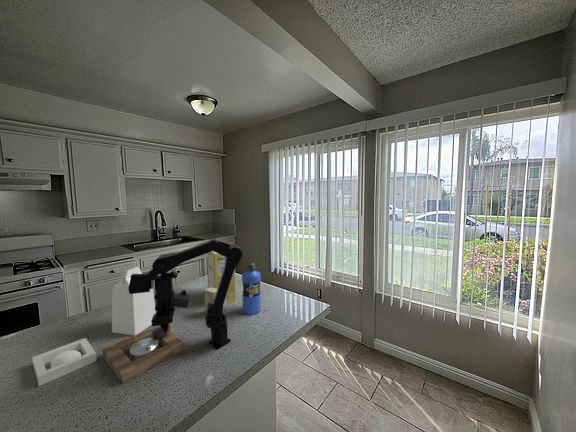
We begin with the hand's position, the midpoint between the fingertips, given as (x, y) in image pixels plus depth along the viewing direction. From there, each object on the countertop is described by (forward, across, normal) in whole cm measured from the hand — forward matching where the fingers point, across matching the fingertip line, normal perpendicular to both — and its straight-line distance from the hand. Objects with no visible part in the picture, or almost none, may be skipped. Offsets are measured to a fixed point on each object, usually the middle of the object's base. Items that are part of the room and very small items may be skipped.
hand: (165, 331), depth 87 cm
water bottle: (+8, +19, -37) cm, 42 cm away
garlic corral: (+8, +6, +32) cm, 33 cm away
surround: (+8, +2, +7) cm, 11 cm away
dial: (+8, +3, +5) cm, 10 cm away
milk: (+8, +24, +15) cm, 30 cm away
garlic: (+8, +6, +31) cm, 33 cm away
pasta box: (+8, +41, -24) cm, 48 cm away
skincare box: (+8, +24, -18) cm, 31 cm away
